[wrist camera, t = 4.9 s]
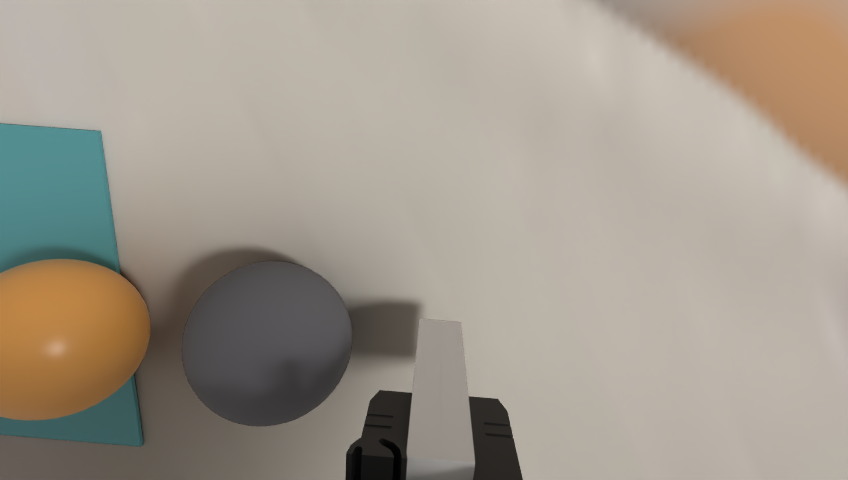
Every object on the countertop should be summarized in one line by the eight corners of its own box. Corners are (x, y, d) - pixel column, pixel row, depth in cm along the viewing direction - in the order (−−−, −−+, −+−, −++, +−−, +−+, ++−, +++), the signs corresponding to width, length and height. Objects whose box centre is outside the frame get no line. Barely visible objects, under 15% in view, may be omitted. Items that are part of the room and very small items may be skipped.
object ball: (153, 275, 14) (-103, 314, 11) (169, 415, 16) (-50, 488, 12) (132, 233, 18) (-60, 251, 15) (146, 348, 20) (-24, 389, 16)
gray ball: (148, 284, 11) (218, 236, 17) (147, 463, 13) (212, 365, 18) (359, 303, 12) (361, 252, 17) (339, 468, 13) (347, 373, 19)
